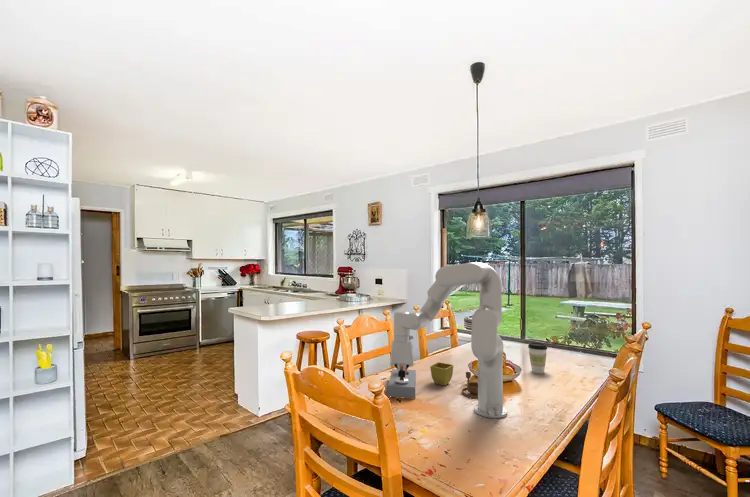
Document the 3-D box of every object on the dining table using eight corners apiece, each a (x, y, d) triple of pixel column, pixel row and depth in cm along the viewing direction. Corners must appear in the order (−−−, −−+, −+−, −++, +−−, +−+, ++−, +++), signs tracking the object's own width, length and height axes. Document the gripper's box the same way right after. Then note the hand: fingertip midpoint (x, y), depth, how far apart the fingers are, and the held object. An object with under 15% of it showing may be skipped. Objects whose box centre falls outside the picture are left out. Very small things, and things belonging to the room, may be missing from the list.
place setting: (451, 395, 161) (451, 382, 161) (465, 383, 178) (465, 371, 178) (491, 403, 152) (490, 389, 152) (501, 389, 169) (501, 377, 169)
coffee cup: (524, 370, 198) (523, 343, 199) (536, 368, 202) (536, 341, 203) (539, 375, 189) (538, 346, 190) (551, 372, 193) (551, 345, 194)
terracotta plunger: (409, 377, 172) (409, 364, 173) (397, 377, 173) (397, 364, 173) (409, 373, 178) (409, 361, 179) (397, 373, 179) (397, 360, 179)
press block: (415, 399, 155) (415, 387, 155) (387, 397, 156) (387, 386, 157) (415, 379, 181) (415, 370, 181) (392, 379, 182) (392, 369, 183)
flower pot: (446, 388, 169) (446, 368, 170) (429, 384, 174) (429, 365, 175) (454, 383, 176) (453, 364, 177) (438, 379, 181) (438, 361, 182)
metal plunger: (408, 395, 158) (408, 381, 159) (395, 395, 159) (395, 380, 159) (408, 390, 164) (408, 377, 165) (396, 390, 165) (396, 376, 165)
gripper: (418, 337, 166) (418, 377, 165) (386, 336, 168) (386, 375, 167) (418, 340, 158) (418, 382, 157) (385, 339, 160) (384, 380, 159)
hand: (401, 378), depth 162 cm, fingers closed
